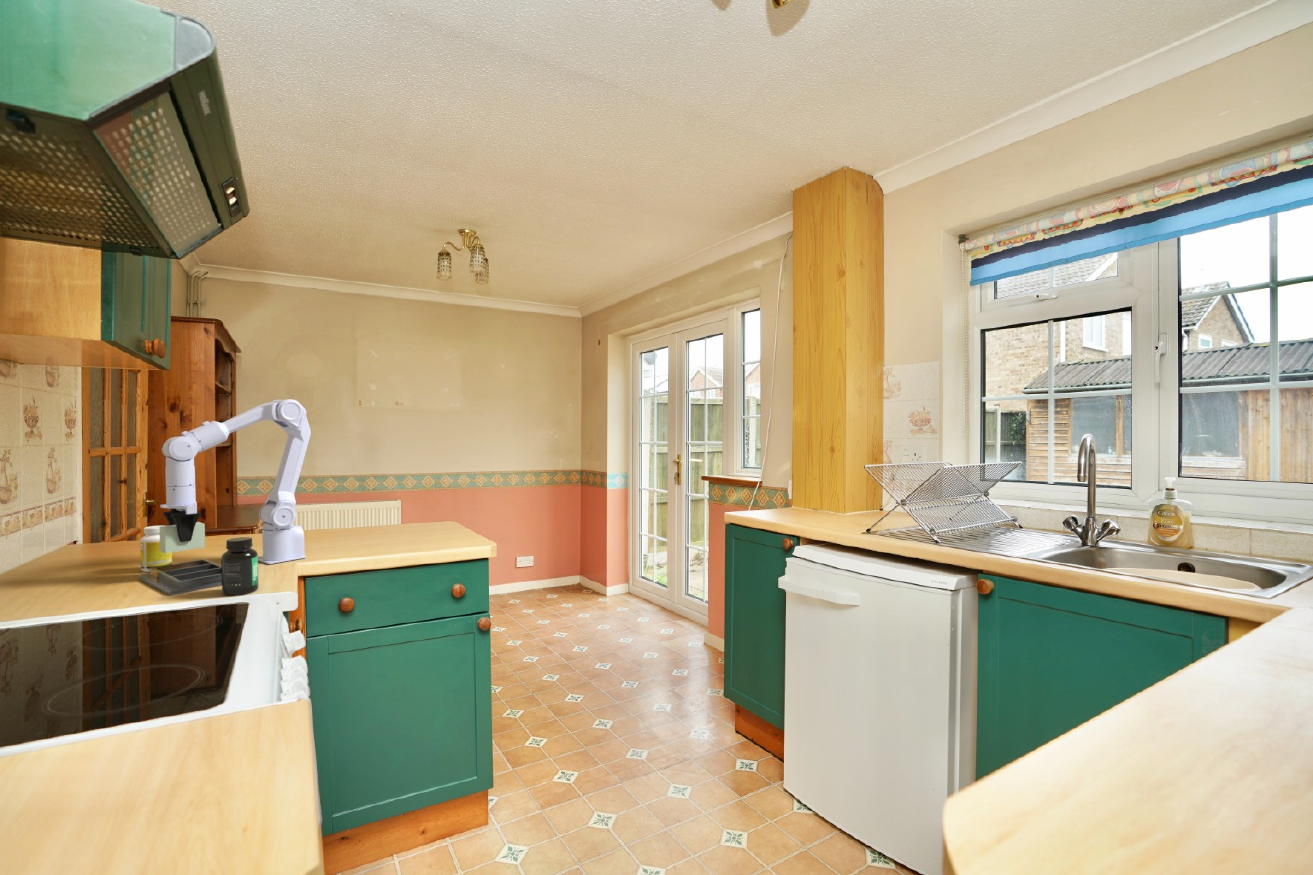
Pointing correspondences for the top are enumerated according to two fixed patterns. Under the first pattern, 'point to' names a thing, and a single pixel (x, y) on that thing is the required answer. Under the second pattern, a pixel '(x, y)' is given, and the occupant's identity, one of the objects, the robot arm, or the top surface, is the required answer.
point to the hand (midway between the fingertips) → (182, 540)
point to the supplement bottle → (239, 567)
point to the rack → (184, 576)
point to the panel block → (173, 544)
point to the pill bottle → (152, 550)
